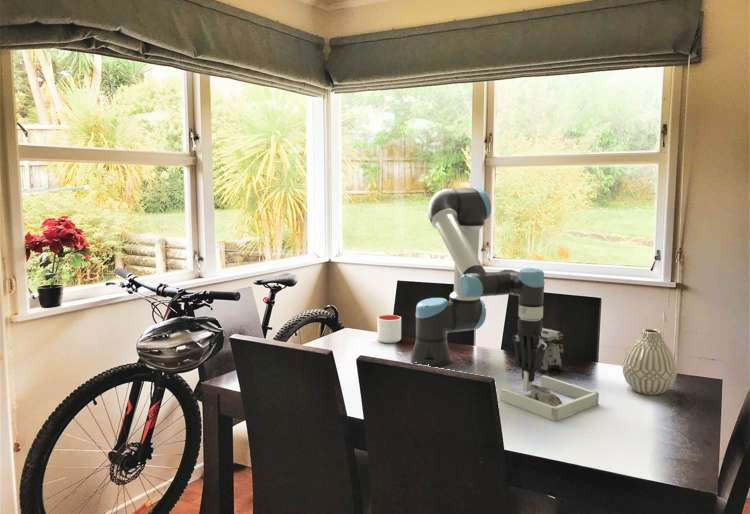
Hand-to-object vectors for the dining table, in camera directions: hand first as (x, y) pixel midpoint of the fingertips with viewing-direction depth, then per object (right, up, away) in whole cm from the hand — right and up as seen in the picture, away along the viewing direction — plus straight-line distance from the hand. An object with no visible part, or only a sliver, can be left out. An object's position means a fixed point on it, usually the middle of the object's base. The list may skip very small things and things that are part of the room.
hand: (527, 390), depth 192 cm
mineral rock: (+3, -3, -9) cm, 10 cm away
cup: (-43, +7, +64) cm, 77 cm away
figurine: (+12, +2, +25) cm, 28 cm away
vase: (+40, -1, +3) cm, 40 cm away
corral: (+5, -2, -6) cm, 8 cm away
